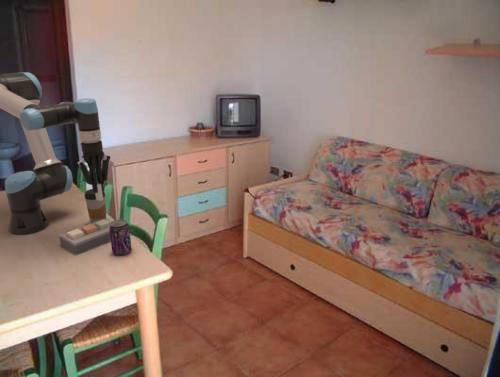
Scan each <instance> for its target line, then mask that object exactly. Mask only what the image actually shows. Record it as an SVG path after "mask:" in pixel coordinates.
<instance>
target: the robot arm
mask: <svg viewBox="0 0 500 377" xmlns="http://www.w3.org/2000/svg"><path fill="white" fill-rule="evenodd" d="M42 90H43V88H42V85H41V83H40V81H39V79H38V78H37V77H36V76H35V75H34V74H33V73H31V72H21V71H18V72H10V73H2V74H1V73H0V109H1V110H3V111H5V112H6V113H9V114H10V115H12V116H14V117H16V118H18V119H19V122H20V125H21V127H22V129H23V133H24V136H25V137H26V141H27V143H28V146H29V149H30V152H31V155H32V158H33V161H34V162H35V165H34V168H33V171H32V170H24V171H18V172H16V173H13V174H11V175H9V176H7V177H6V179H5V180H4V188H5V190H4V191H5V193H6V198H7V202H8V207H9V211H10V215H9V216H10V217H9V220H8V221H9V222H8V229H9V232H10V233H11V234H13V235H28V234H29V235H30V234H34V233H38V232H40V231H43V230H45V229H46V228H47V227H49V224H50V222H49V219H48V217H47V215H46V214H45V212H44V210H43V208H42V204H41V200H45V199H48V198H52V197H54V196H55V197H56V196H58V195H62V194H64V193H67V192H69V191H71V189H72V187H73V183H74V182H73V179H74V178H73V174H72V171H71V169H70V168H69V166H67V165H63V163H62V161H61V160H59V159H58V158H57V156H56V154H55V151H54V148H53V145H52V142H51V140H50V136H49V135H48V134H49V133H48V131H47V128H51V127H53V128H54V127H56V126H63V125H67V124H77V129H78V134H79V141H80V146H81V151H82V157H81V159H80V161H76V165H77V166H78V167H79V169H80V170H81V173H82V175H83V177H84V179H85V182H86V184H88V185H90V186H92V187H91V189H93V192H94V193H95V195H96V200H99V201H101V200H103V195H102V191H104V184H105V182H107V181H108V170H109V162H110V160H111V156H110V155H107V154H105V152H104V147H103V141H102V133H101V126H100V119H99V118H100V117H99V108H98V105H97V101H96V99H94V98H88V97H87V98H78V99H75V100H74V102H72V101H63V102H60V103H59V104H53V105H45V106H40V105H39V104H40V102H41V101H40V99H41V97H42V96H43V91H42ZM86 164H87V166H86ZM87 167H88V168H87Z"/></svg>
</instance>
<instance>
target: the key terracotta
mask: <svg viewBox="0 0 500 377" xmlns="http://www.w3.org/2000/svg"><path fill="white" fill-rule="evenodd" d="M89 224H90V225H89ZM89 224H87V226H86V225H83V226H84V227H83V226H80V227H81V230H82V231H83V232H84V234H86V235H88V234H91V233H94V232H97V231H98V229H97V227H96V226H94V225H93V224H91V223H89Z"/></svg>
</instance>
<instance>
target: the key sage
mask: <svg viewBox="0 0 500 377" xmlns="http://www.w3.org/2000/svg"><path fill="white" fill-rule="evenodd" d="M110 223H111V221H109V220H107V219H106V220H105V219H104V220H101V221H98V222H95V226H96V227H97V228H98V229H100V230H102V229H105V228H108V227H110Z"/></svg>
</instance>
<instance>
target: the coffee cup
mask: <svg viewBox="0 0 500 377" xmlns="http://www.w3.org/2000/svg"><path fill="white" fill-rule="evenodd" d="M102 195H103V200H101V201H99V200H96V195H95V193H94V192H93V188H90V189H87V190H86V191H85V192H84V200H85V202H86V209H87V213H88V214H87V215H88V218H89V221H90V224H91V223H94V222H97V221H100V220H104V219H105V220H107V204H106V193H105V191H104V190H103V191H102Z"/></svg>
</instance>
